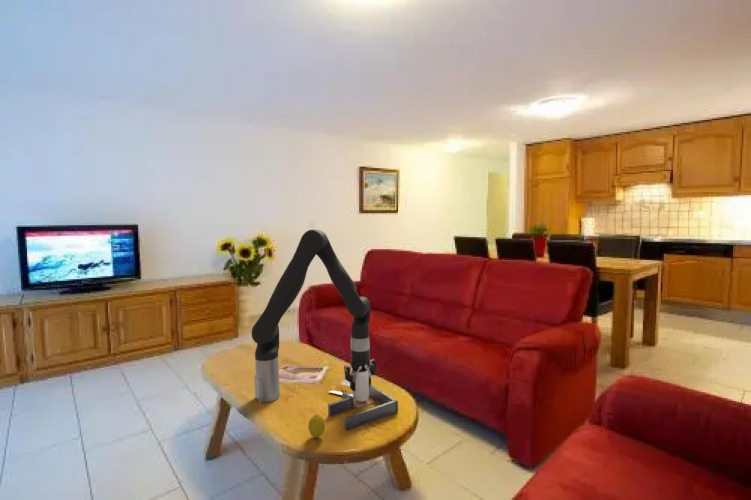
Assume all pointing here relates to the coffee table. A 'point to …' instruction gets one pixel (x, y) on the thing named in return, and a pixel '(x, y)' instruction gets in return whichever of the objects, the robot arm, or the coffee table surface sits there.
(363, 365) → the robot arm
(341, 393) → the white strips
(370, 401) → the pad
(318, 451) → the coffee table surface
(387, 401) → the guide rails
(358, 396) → the can
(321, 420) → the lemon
